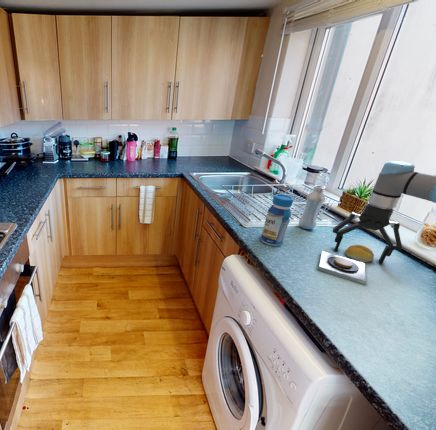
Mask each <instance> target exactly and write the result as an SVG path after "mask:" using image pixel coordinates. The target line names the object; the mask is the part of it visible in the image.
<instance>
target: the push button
mask: <svg viewBox="0 0 436 430" xmlns="http://www.w3.org/2000/svg"><path fill="white" fill-rule="evenodd" d="M318 262H319V263H318V268H317V271H321V272H323V273H327V274H330V275H332V276H336V277H339V278H342V279H345V280H348V281H352V282H355V283H358V284H360V285H365V284H366V282H367V273H366V262H362V261H357V260H354V259H352V258H348V257H344V256H340V255H337V254H334V253H331V252H326V251H323V250H321V254H320V258H319V261H318Z"/></svg>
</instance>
